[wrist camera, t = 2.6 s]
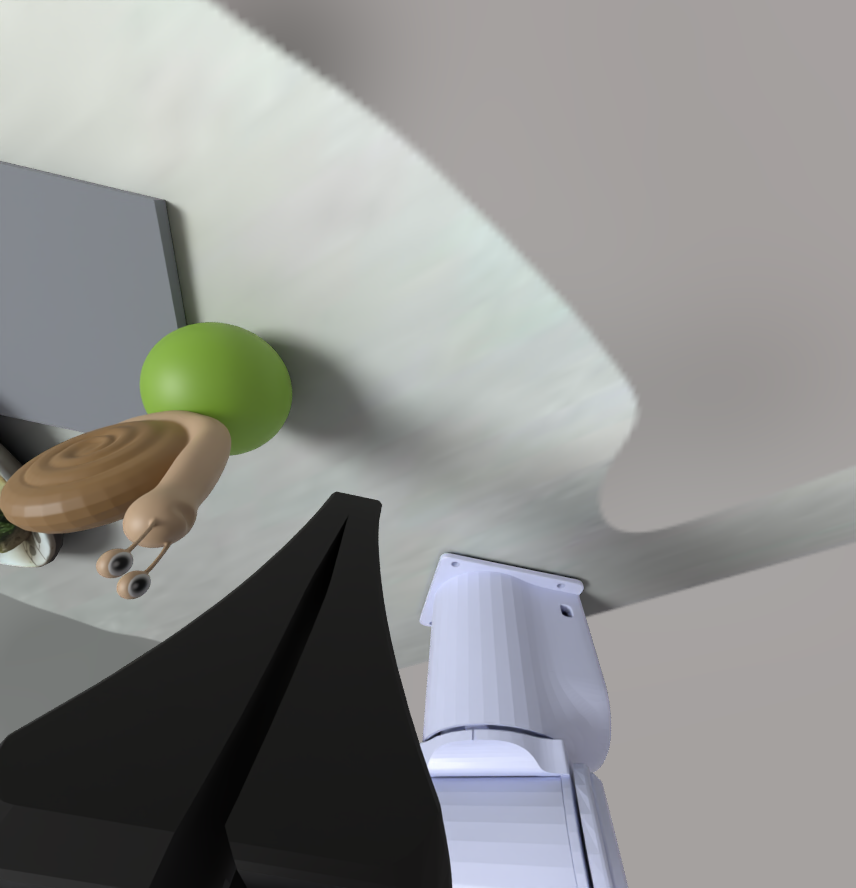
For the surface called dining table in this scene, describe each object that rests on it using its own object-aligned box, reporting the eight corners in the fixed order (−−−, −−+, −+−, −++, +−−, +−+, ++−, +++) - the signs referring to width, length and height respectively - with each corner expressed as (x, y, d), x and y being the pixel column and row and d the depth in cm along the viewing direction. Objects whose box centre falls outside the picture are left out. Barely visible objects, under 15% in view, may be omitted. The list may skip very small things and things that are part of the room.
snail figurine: (341, 412, 18) (193, 659, 8) (226, 419, 19) (-35, 651, 9) (311, 299, 15) (24, 473, 5) (176, 314, 16) (-287, 486, 6)
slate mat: (165, 200, 14) (153, 199, 13) (208, 451, 20) (201, 457, 20) (-246, 102, 13) (-274, 98, 13) (-66, 393, 20) (-79, 398, 19)
